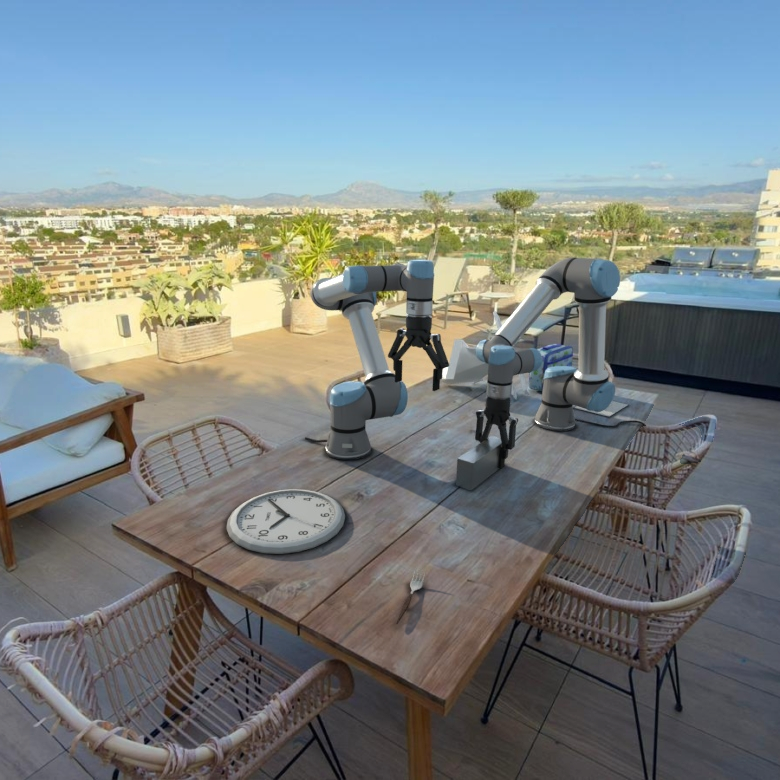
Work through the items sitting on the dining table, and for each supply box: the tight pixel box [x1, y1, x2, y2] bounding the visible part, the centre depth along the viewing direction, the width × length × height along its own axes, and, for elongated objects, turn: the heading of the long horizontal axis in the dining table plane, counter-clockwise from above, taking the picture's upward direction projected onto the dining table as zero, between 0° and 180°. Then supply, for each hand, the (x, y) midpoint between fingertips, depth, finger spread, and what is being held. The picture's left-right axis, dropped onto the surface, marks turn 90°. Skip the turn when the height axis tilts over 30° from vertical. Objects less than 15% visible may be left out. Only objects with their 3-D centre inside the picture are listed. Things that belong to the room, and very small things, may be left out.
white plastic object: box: [440, 310, 531, 400], centre depth 245 cm, size 37×45×31 cm
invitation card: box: [573, 400, 629, 418], centre depth 226 cm, size 21×1×15 cm
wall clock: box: [226, 488, 346, 555], centre depth 135 cm, size 30×2×30 cm
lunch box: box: [528, 343, 574, 392], centre depth 248 cm, size 26×11×21 cm, turn 134°
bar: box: [455, 435, 505, 491], centre depth 161 cm, size 22×5×9 cm, turn 143°
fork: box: [396, 568, 427, 625], centre depth 107 cm, size 3×16×2 cm, turn 160°
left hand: (416, 385), depth 157 cm, fingers open, 13 cm apart
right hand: (492, 464), depth 168 cm, fingers closed on bar, 5 cm apart
